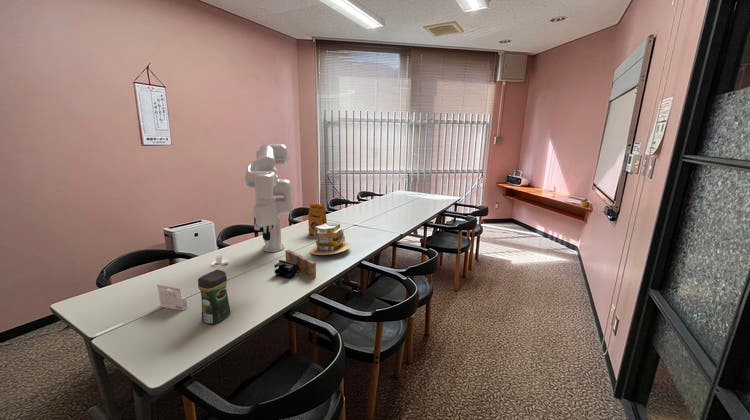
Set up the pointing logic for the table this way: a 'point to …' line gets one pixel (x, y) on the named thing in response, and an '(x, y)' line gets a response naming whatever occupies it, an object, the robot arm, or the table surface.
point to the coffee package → (316, 217)
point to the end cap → (286, 269)
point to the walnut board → (302, 263)
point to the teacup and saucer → (219, 261)
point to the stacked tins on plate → (329, 239)
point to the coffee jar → (214, 296)
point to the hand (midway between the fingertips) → (266, 239)
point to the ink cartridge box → (172, 298)
